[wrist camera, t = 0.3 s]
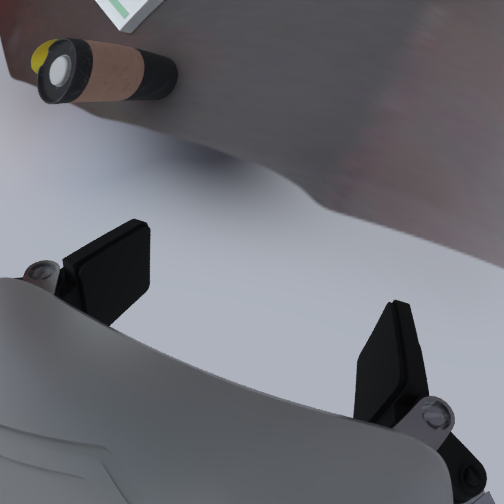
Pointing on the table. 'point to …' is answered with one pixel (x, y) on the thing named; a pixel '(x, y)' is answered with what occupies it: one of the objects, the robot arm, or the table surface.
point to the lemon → (40, 55)
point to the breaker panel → (128, 12)
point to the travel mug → (102, 73)
